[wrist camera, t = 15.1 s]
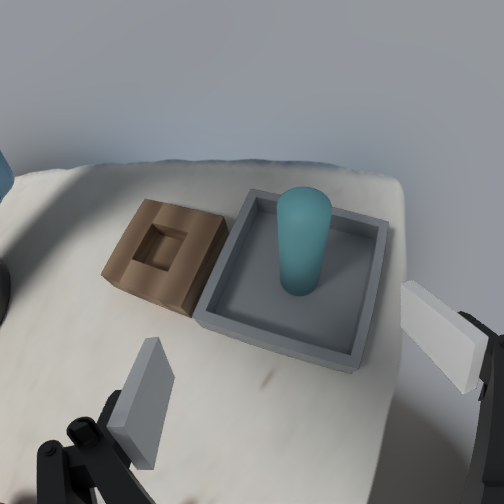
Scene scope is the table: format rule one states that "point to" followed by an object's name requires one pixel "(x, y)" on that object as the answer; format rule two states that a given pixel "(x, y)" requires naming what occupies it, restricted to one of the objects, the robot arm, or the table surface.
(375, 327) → the table surface
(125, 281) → the hole block
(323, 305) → the tray
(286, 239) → the ball
